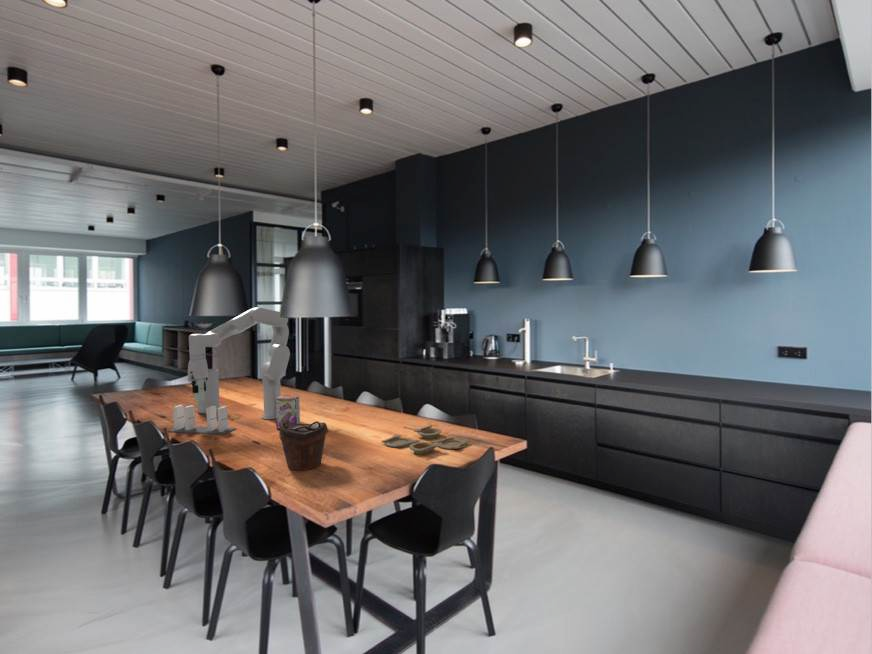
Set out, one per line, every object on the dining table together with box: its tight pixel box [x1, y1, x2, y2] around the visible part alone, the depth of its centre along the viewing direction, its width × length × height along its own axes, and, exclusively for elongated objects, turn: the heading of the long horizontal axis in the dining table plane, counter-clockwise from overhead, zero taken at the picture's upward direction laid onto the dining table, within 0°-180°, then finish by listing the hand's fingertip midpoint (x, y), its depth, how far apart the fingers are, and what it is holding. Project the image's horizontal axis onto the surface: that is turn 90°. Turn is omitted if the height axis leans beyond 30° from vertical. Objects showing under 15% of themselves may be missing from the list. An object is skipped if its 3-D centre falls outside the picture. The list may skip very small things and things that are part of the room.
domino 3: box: [193, 379, 205, 402], centre depth 260 cm, size 2×5×12 cm, turn 166°
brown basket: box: [278, 421, 330, 472], centre depth 198 cm, size 18×20×18 cm
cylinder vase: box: [196, 368, 221, 414], centre depth 300 cm, size 12×12×25 cm
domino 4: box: [205, 406, 218, 431], centre depth 254 cm, size 2×5×12 cm, turn 167°
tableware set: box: [381, 424, 470, 455], centre depth 224 cm, size 35×29×4 cm
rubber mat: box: [167, 426, 237, 435], centre depth 256 cm, size 33×10×1 cm, turn 77°
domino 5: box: [217, 405, 229, 432], centre depth 253 cm, size 2×5×12 cm, turn 167°
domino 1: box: [172, 404, 185, 430], centre depth 259 cm, size 2×5×12 cm, turn 167°
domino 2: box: [184, 404, 196, 430], centre depth 257 cm, size 2×5×12 cm, turn 167°
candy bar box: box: [275, 396, 301, 430], centre depth 256 cm, size 11×5×16 cm, turn 84°
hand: (199, 391), depth 260 cm, fingers closed on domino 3, 4 cm apart
